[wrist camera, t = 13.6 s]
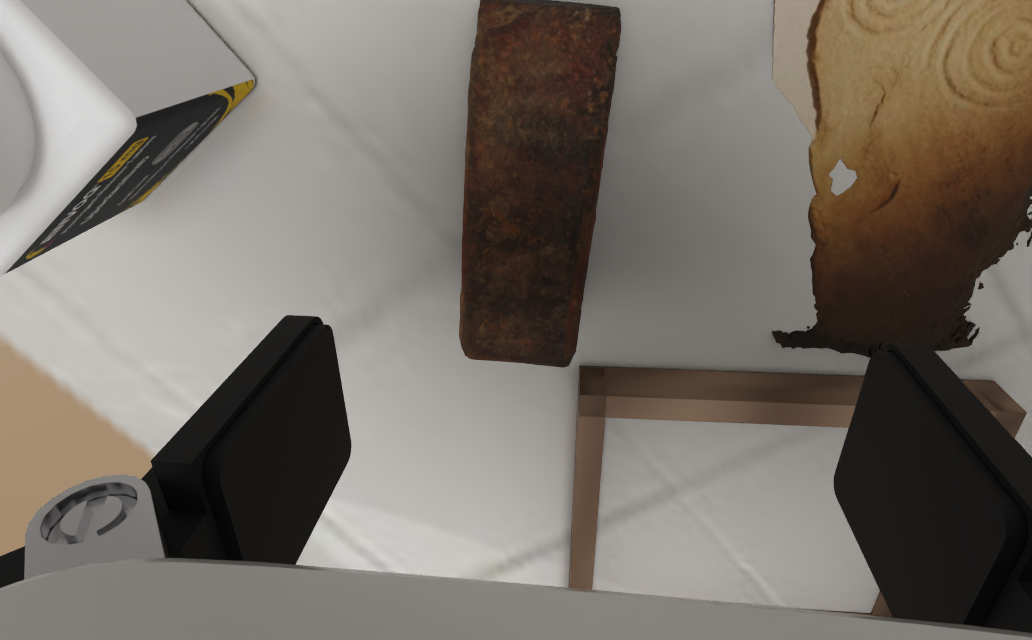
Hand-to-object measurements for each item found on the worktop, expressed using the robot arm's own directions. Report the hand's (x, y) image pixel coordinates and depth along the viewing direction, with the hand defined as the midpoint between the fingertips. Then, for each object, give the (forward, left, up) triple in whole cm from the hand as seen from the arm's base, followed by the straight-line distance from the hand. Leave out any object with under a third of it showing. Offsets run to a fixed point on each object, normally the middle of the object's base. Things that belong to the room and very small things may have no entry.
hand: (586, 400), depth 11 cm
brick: (+1, -1, -13) cm, 13 cm away
